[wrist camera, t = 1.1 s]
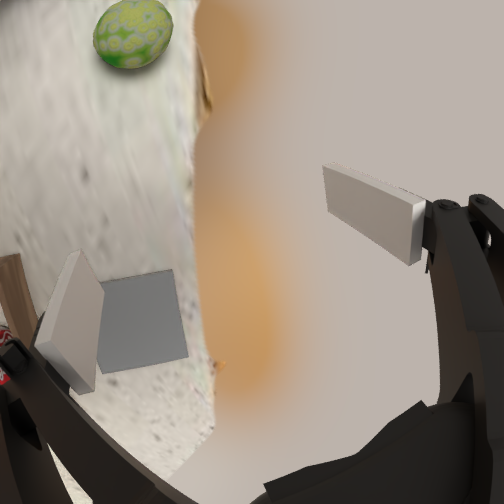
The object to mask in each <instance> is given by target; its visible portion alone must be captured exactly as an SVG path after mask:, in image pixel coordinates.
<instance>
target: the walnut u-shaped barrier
mask: <svg viewBox="0 0 504 504" xmlns="http://www.w3.org/2000/svg"><path fill="white" fill-rule="evenodd" d="M0 303H1V306H2V309H3V312H4V315H5V318H6V320H7V323H8V326H9V329H10V331H11V334H12V336H13V338H14V337H17V338H19V339H20V340H21V342H22V343H23V344H24V345H25V347H26V348H27V349H28V350H29V347H30V344H31V340H32V337H33V334H34V331H35V330H36V326H37V323H38V319H37V316H36V313H35V310H34V306H33V303H32V300H31V297H30V293H29V290H28V286H27V282H26V279H25V275H24V271H23V267H22V262H21V258H20V254H19V253H18V254H13V255H9V256H4V257H0Z"/></svg>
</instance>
